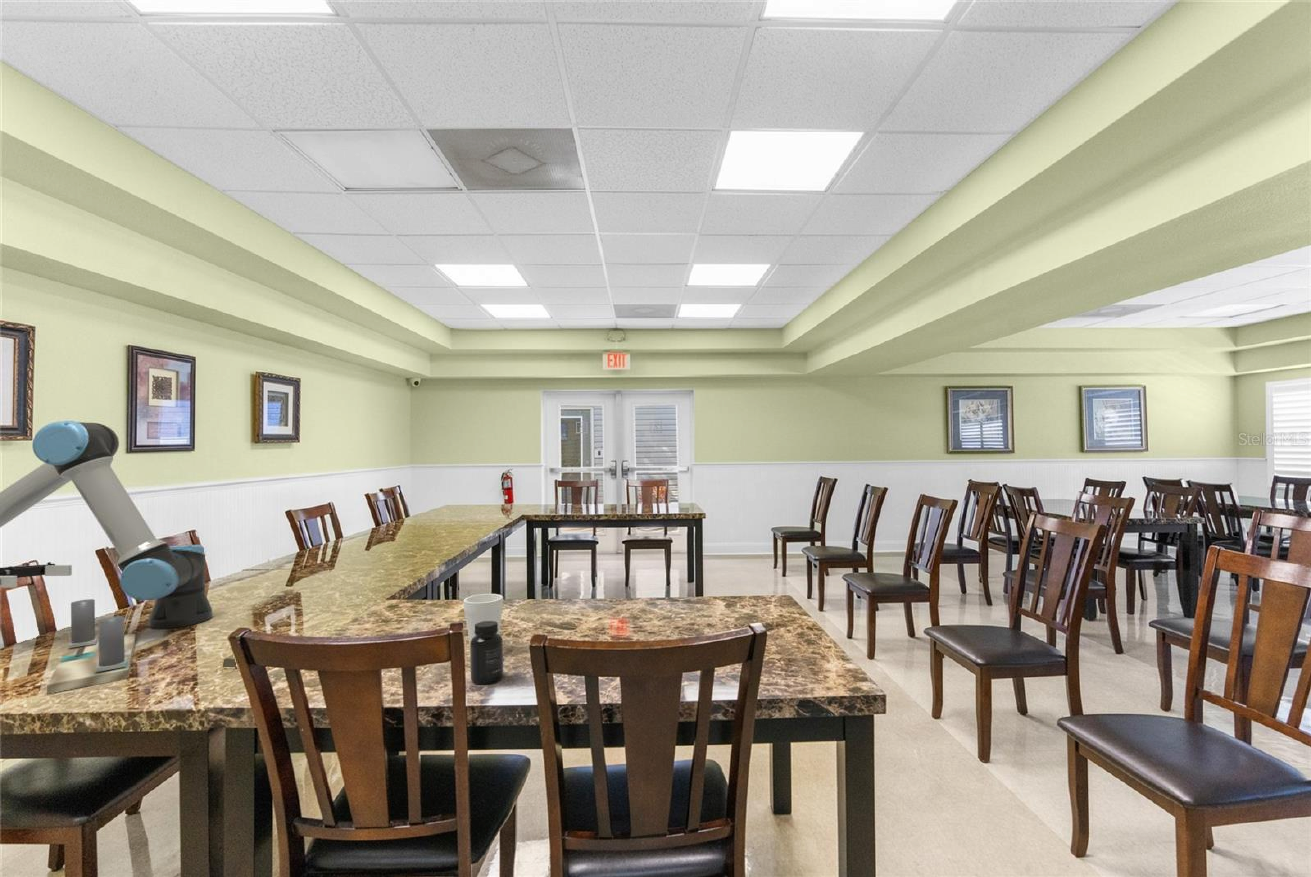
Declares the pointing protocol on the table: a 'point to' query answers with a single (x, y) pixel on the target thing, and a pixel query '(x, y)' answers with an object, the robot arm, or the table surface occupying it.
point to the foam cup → (482, 610)
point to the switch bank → (87, 667)
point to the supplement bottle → (486, 654)
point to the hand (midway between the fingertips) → (44, 575)
